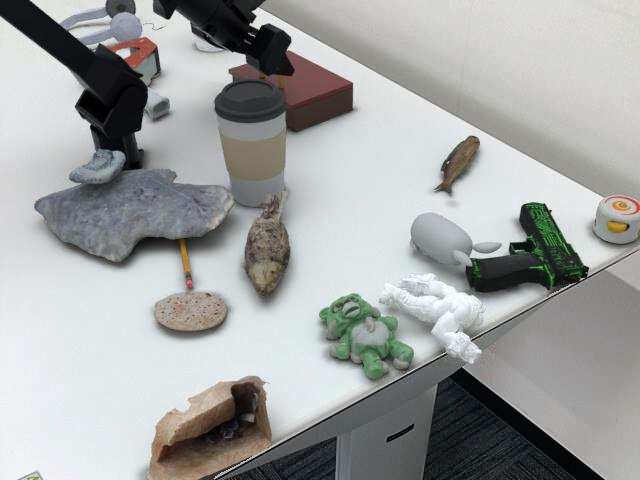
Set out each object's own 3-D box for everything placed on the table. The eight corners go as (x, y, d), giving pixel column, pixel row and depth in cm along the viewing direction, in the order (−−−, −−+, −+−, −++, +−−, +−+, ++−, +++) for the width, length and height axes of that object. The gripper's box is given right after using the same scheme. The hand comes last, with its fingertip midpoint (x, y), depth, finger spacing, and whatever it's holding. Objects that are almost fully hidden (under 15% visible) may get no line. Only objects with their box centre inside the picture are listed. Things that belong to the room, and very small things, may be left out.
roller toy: (659, 207, 93) (626, 185, 97) (619, 220, 91) (587, 198, 95) (649, 237, 96) (618, 215, 100) (610, 251, 94) (580, 227, 98)
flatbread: (233, 300, 87) (233, 292, 87) (218, 338, 81) (217, 330, 81) (164, 292, 88) (163, 285, 87) (143, 330, 82) (142, 322, 81)
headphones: (160, 9, 150) (60, 36, 147) (150, -21, 145) (47, 7, 143) (172, 42, 137) (63, 72, 135) (161, 10, 133) (49, 41, 131)
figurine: (367, 340, 82) (475, 374, 79) (370, 306, 78) (483, 340, 75) (399, 283, 88) (499, 312, 85) (403, 248, 84) (507, 278, 82)
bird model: (227, 278, 82) (244, 313, 85) (279, 265, 81) (294, 300, 84) (239, 184, 98) (252, 216, 101) (282, 171, 97) (295, 204, 100)
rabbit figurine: (394, 243, 93) (458, 288, 85) (407, 204, 91) (474, 247, 83) (431, 243, 97) (495, 286, 89) (443, 206, 95) (511, 246, 87)
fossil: (86, 171, 89) (55, 162, 91) (92, 198, 91) (62, 189, 93) (134, 145, 94) (103, 138, 96) (139, 171, 96) (109, 163, 98)
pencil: (193, 287, 88) (192, 282, 87) (187, 288, 88) (186, 283, 87) (178, 201, 101) (177, 195, 100) (172, 201, 101) (171, 196, 100)
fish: (459, 141, 114) (459, 127, 112) (483, 143, 113) (483, 129, 111) (428, 203, 103) (427, 188, 101) (454, 205, 101) (454, 190, 100)
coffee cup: (218, 182, 105) (204, 77, 95) (280, 171, 107) (274, 67, 97) (234, 217, 99) (221, 108, 88) (300, 204, 101) (295, 96, 91)
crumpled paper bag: (144, 478, 69) (134, 403, 65) (254, 434, 76) (250, 364, 72) (174, 506, 65) (165, 428, 61) (288, 457, 72) (285, 385, 69)
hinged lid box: (295, 132, 116) (294, 108, 113) (234, 95, 125) (231, 72, 122) (353, 110, 121) (353, 87, 119) (289, 76, 130) (289, 54, 128)
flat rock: (248, 189, 102) (70, 174, 104) (244, 157, 98) (58, 142, 100) (216, 283, 91) (17, 264, 93) (209, 251, 87) (2, 232, 89)
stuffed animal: (367, 391, 76) (368, 361, 73) (301, 326, 83) (300, 297, 80) (427, 359, 80) (431, 329, 77) (359, 300, 87) (360, 271, 84)
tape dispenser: (166, 131, 119) (196, 70, 132) (162, 100, 115) (193, 40, 128) (56, 119, 119) (97, 60, 133) (48, 88, 115) (91, 30, 129)
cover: (291, 109, 113) (289, 71, 109) (228, 73, 122) (224, 37, 118) (353, 87, 119) (353, 50, 115) (288, 54, 128) (287, 18, 124)
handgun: (477, 306, 86) (600, 292, 88) (481, 285, 84) (606, 272, 86) (437, 228, 97) (547, 218, 100) (440, 208, 95) (551, 198, 98)
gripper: (276, -31, 97) (341, 35, 110) (197, -64, 107) (266, -1, 120) (231, 46, 99) (301, 102, 112) (158, 7, 109) (230, 62, 122)
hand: (274, 63), depth 116 cm, fingers open, 9 cm apart
